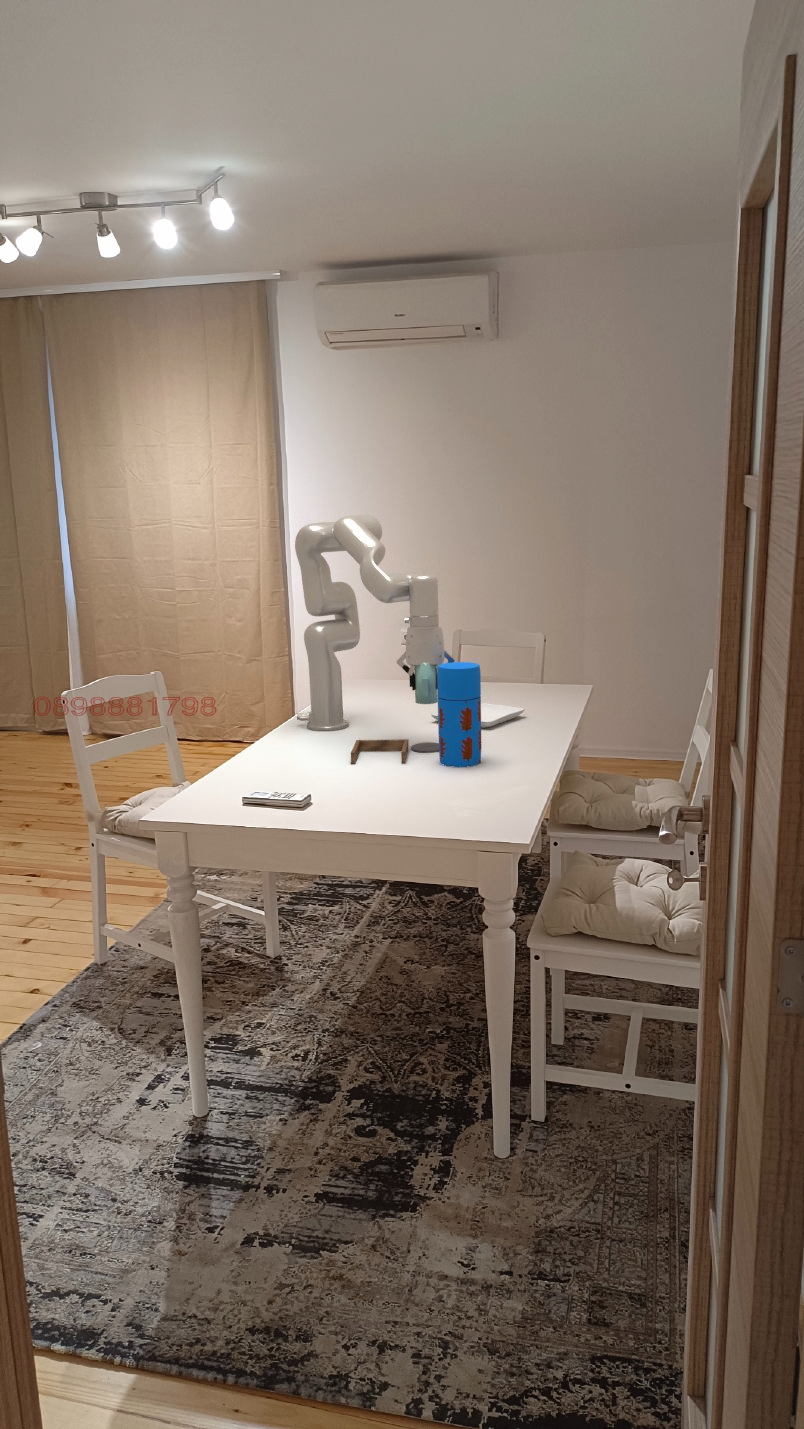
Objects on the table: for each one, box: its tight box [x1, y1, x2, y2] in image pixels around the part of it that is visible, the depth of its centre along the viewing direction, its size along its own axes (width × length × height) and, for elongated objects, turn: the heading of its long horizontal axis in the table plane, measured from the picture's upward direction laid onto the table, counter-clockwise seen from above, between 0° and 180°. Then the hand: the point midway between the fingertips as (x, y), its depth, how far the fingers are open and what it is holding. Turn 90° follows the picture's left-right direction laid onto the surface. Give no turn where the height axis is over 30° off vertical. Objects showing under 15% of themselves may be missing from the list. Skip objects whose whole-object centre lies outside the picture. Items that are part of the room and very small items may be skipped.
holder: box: [350, 738, 410, 765], centre depth 271 cm, size 14×14×3 cm
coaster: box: [410, 741, 439, 754], centre depth 279 cm, size 9×9×1 cm
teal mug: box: [414, 663, 438, 705], centre depth 274 cm, size 8×6×11 cm
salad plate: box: [430, 702, 525, 729], centre depth 311 cm, size 21×21×3 cm
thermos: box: [437, 661, 482, 768], centre depth 261 cm, size 11×11×25 cm
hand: (426, 688), depth 275 cm, fingers closed on teal mug, 6 cm apart
